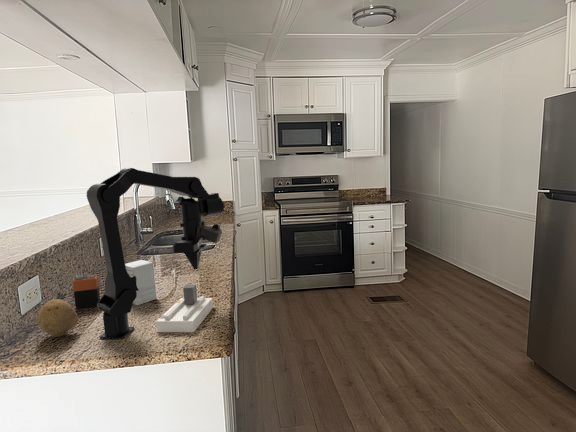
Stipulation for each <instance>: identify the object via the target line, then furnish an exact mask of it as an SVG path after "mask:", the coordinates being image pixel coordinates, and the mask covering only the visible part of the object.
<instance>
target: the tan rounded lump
mask: <svg viewBox="0 0 576 432" xmlns="http://www.w3.org/2000/svg"><path fill="white" fill-rule="evenodd" d="M36 319H37V321H36V322H37V323H36V324H37V325H38V327H39V328H40V329H41V330H42V331H44V332H45V333H47V334H48V335H50V336H52V337H56V338H58V337H62V336H64V335H66V334H67V333H68V332H69V331H70V330H72V329H73V328H74V327H76V325H77V324H78V322H79V315H78V314H77V312H76V310H74V308H73V306H72V305H71V304H70V303H69V302H67V301H65V300H64V299H60V298H56V299H55V298H53V299H51V300H49V301H48V302H46V303H45V304H44V305H43V306H42V307H41V308H40V310H39V312H38V314H37V318H36Z"/></svg>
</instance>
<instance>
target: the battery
mask: <svg viewBox="0 0 576 432" xmlns="http://www.w3.org/2000/svg"><path fill="white" fill-rule="evenodd" d="M72 287H73V296H74V305H75V309H82V308H90V307H96V306H97V303H98V302H99V300H100V299H101V294H100V286H99V277H98V275H96V274H95V275H94V274H88V275H87V276H84V275H83V274H78V275H76V276H75V278H74V279H73V280H72ZM97 307H98V306H97Z"/></svg>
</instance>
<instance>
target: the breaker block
mask: <svg viewBox="0 0 576 432" xmlns="http://www.w3.org/2000/svg"><path fill="white" fill-rule="evenodd" d="M213 308H214V301H213V297H206V295H201V296H200V297H197V301H196V303H195V304H194V305H185V302H184V297H181V298H179V299H178V300H177V301H176V302H175V303H174V304H173V305H172V306H171V307H170V308H169V309H168V310H167V311H166V312H165V313H163V314H162V315H161V316H160V317H159V318H158V319H157V320H156V321H155V325H156V333H194V332H196V329H198V328H199V326H200V325H201V323H202V322H203V321H204V319H206V317H207V316H208V315H209V313H210V312H211V311H212V310H213Z"/></svg>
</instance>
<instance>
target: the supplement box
mask: <svg viewBox="0 0 576 432" xmlns="http://www.w3.org/2000/svg"><path fill="white" fill-rule="evenodd" d="M125 266H126V270H127V272H128V274H131V275H134V276H136V285H137V288H138V289H139V291H137V290H136V291H137V297H136V299H135V300H134V302H133V304H132V305H134V306H139V305H142V304H143V305H144V303H146V304H147V303H148V302H151V301H153V300H157V297H158V296H157V289H156V280H155V269H154V262H152V261H150V260H149V261H148V260H143V259H138V260H135V261H131V262H127V263H125Z"/></svg>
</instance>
